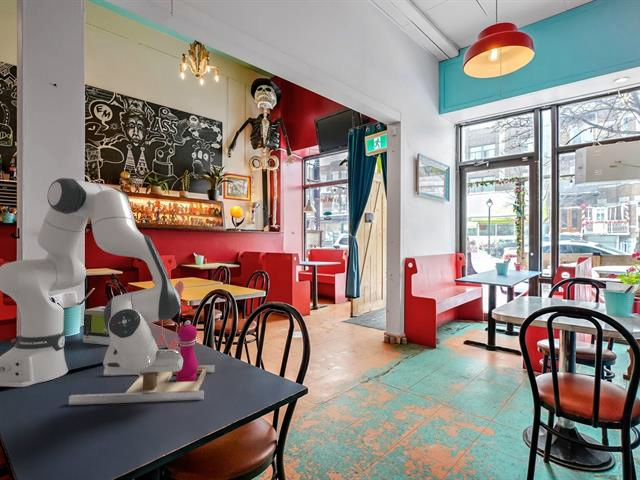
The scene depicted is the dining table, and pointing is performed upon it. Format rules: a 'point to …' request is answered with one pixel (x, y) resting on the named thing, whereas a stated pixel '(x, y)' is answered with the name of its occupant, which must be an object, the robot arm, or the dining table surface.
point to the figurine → (174, 342)
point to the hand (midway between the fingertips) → (150, 373)
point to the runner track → (139, 394)
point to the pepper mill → (187, 353)
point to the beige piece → (164, 383)
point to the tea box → (95, 327)
